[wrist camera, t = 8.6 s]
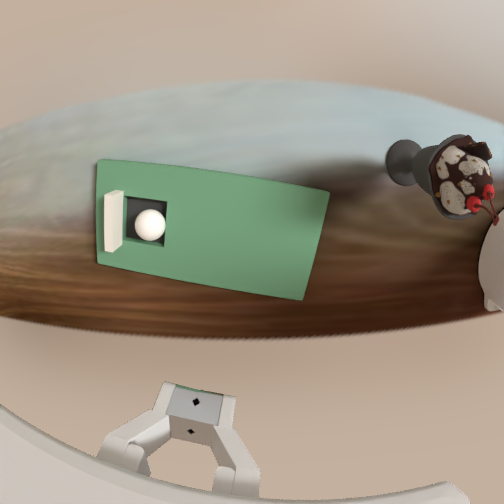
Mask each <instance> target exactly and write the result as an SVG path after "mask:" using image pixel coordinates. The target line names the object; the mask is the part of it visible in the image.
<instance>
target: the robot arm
mask: <svg viewBox="0 0 504 504" xmlns="http://www.w3.org/2000/svg"><path fill="white" fill-rule="evenodd" d="M498 216H499V219H500V220H499V222H498V223H497V225H496V226H494V225H493V223H492V225H491V227H490V228H489V230H488V233H487V235H486V237H485V240H484V243H483V246H482V249H481V253H480V259H479V280H480V284H481V287H482V289H483V291H484V307H485V308H486V309H487V310H488V311H495V310H501V311H502V312H504V210H502V211H501V212H500V214H499V215H498ZM223 395H224V394H219V393H214V392H208V391H203V390H197V389H192V388H189V387H185V386H181V385H177V384H173V383H170V382H166V381H165V382H164V383H163V384H162V387H161V390H160V392H159V394H158V397H157V399H156V402H155V404H154V407H153V409H152V410H147V411H145V412H144V413H142V414H140V415H139V416H137V417H135V418H134V419H132V420H130V421H129V422H127V423H125V424H124V425H122V426H120V427H118V428H117V429H115V430H113V431H111V432H110V433H108V434H107V436H106V438H105V440H104V442H103V444H102V446H101V448H100V450H99V452H98V454H97V457H93V456H91V455H89V454H87V453H84V452H82V451H80V450H78V449H76V448H74V447H72V446H70V445H67V444H66V443H64V442H62V441H60V440H58V439H56V438H54V437H52V436H50V435H49V434H47V433H45V432H43V431H41V430H40V429H38V428H36V427H35V426H33V425H31V424H29V423H28V422H26V421H25V420H23V419H22V418H20V417H18V416H17V415H15V414H14V413H12V412H11V411H9V410H8V409H6V408H5V407H4V406H2V405H1V404H0V504H470V501H469V498H468V497H467V495H466V494H464V493H463V492H462V491H461V490H459V489H458V488H457V487H455V486H454V485H453V484H451V483H450V482H447V481H444V482H439V483H435V484H432V485H428V486H424V487H420V488H415V489H410V490H405V491H400V492H395V493H389V494H383V495H376V496H367V497H358V498H347V499H333V500H280V499H263V498H259V485H260V472H261V471H260V469H259V468H258V466H257V464H256V463H255V462H254V460H253V458H252V456H251V455H250V453H249V452H248V450H247V448H246V447H245V445H244V443H243V441H242V440H241V438H240V437H239V435H238V433H237V431H236V430H235V429H232V423H233V417H234V410H235V403H236V397H235V396H229V395H224V396H223ZM171 438H176V439H181V440H185V441H190V442H194V443H198V444H202V445H207V446H211V449H212V452H213V454H214V456H215V458H216V460H217V463H218V465H219V467H218V468H217V469H216V473H215V478H214V483H213V488H212V492H210V491H205V490H199V489H195V488H190V487H186V486H181V485H177V484H173V483H169V482H166V481H162V480H158V479H154V478H151V477H150V474H151V472H150V469H149V465H148V462H147V459H146V458H147V457H148V456H150V455H151V454H152V453H153V452H155V451H156V450H157V449H158V448H160V447H161V446H162V445H163V444H164V443H166V442H167V441H168V440H170V439H171Z"/></svg>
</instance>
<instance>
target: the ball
mask: <svg viewBox="0 0 504 504" xmlns="http://www.w3.org/2000/svg"><path fill="white" fill-rule="evenodd" d="M165 226H166V223H165V219H164V217H163V215H162V214H161V213H160V212H158V211H156V210H153V209H148V210H144V211H142V212H141V213H140V214H139V215H138V216H137V218H136V221H135V230H136V232H137V234H138V235H139V236H140V237H141V238H142V239H144V240H147V241H153V240H156V239H158V238H159V237H161V235H162V234H163V233H164V231H165Z"/></svg>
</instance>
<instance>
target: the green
mask: <svg viewBox="0 0 504 504" xmlns="http://www.w3.org/2000/svg"><path fill="white" fill-rule="evenodd" d="M329 196H330V193H329V192H328V191H325V190H320V189H316V188H311V187H306V186H301V185H296V184H291V183H286V182H280V181H275V180H269V179H264V178H258V177H252V176H246V175H240V174H233V173H227V172H220V171H213V170H206V169H198V168H191V167H183V166H174V165H165V164H156V163H146V162H135V161H123V160H110V159H101V160H98V163H97V183H96V242H97V262H98V263H99V264H104V265H108V266H113V267H117V268H122V269H127V270H132V271H136V272H141V273H146V274H151V275H156V276H161V277H166V278H171V279H177V280H182V281H187V282H192V283H198V284H203V285H209V286H214V287H220V288H226V289H232V290H237V291H243V292H249V293H255V294H262V295H268V296H274V297H281V298H287V299H294V300H301V301H302V300H303V297H304V293H305V290H306V286H307V283H308V279H309V275H310V272H311V268H312V264H313V261H314V257H315V253H316V249H317V245H318V241H319V237H320V233H321V229H322V225H323V221H324V217H325V213H326V209H327V204H328V200H329ZM148 209H153V210H156V211H158V212H160V213H161V214H162V215H163V217H164V219H165V223H166V226H165V231H164V233H163V234H162V235H161V237H159V238H158V239H156V240H153V241H147V240H144V239H142V238H141V237H140V236H139V235H138V234H137V232H136V230H135V221H136V218H137V216H138V215H139V214H140V213H141V212H142V211H144V210H148Z"/></svg>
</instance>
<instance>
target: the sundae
mask: <svg viewBox="0 0 504 504" xmlns="http://www.w3.org/2000/svg"><path fill="white" fill-rule="evenodd" d="M491 158H492V154H491V152H490V150H489V148H488V146H487V144H486V143H485V142H478V143H476V142H475V141H474V140H473V139H472V137H471V136H469V135H467V136H465V135H462V134H458V135H453V136H451V137H449V138H447V139H446V140H444V141H443V142H441V143H440V144H439V145H435V146H429V147H426V148H423V149H422V148H421V147H420V146H419V145H418V144H417V143H415V142H413V141H411V140H400V141H398V142H397V143H395V144H394V145H393V146H392V147H391V149H390V150H389V153H388V156H387V167H388V171H389V173H390V175H391V177H392V178H393V179H394V180H395V181H396V182H397V183H399V184H401V185H405V186H409V185H413V184H415V183H418V185H419V186H420V187H421V188H422V189H423V190H424V191H426V192H427V193H428V194H430V195H431V196H432V198H433V201H434V203H435V205H436V207H437V208H438V210H439V211H440V212H441V214H442V215H444V216H445V217H447V218H450V219H454V220H461V219H466V218H469V217H471V216H472V215H475V214H477V212H478V211H479V209H480V208H484V209H485V210H486V211H487V212H488V213H489V214H490V215H491V217H492V219H493V225H494V226H496V225H497V223H498V222H499V220H500V219H499V216H497V214H496V212H495V210H494V208H493V205H492V200H491V199H492V198H493V196H494V193H495V191H494V189H493V187H492V185H493V179H492V174H491V171H490V168H489V164H488V160H489V159H491ZM484 199H485V200H490V203H491V207H492V209H493V211H494V213H495V216H496V219H494V217H493V216H492V214H491V213H490V211H489V210H488V209H487V208H486V207H484V206H483V205H482V203H483V200H484Z"/></svg>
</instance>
